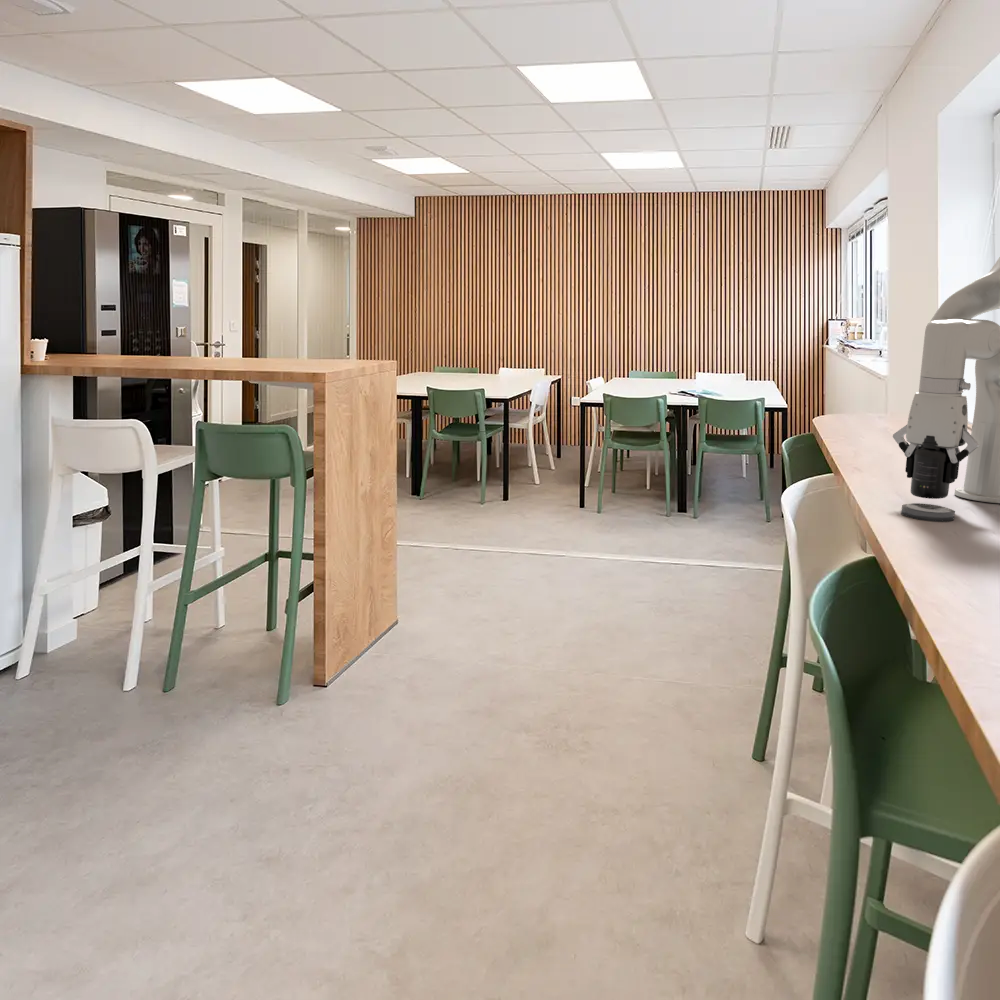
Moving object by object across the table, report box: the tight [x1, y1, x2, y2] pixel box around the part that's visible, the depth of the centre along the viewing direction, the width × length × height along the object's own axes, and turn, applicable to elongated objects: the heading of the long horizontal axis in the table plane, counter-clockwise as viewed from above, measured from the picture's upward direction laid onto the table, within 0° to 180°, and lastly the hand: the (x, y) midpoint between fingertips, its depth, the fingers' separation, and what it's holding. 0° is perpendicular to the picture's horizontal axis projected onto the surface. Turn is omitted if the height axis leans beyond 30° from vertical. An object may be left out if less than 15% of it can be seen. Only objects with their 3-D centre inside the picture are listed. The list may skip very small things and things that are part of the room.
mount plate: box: [900, 502, 956, 523], centre depth 186 cm, size 9×9×2 cm
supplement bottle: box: [910, 435, 950, 500], centre depth 195 cm, size 7×7×12 cm
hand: (930, 478), depth 196 cm, fingers closed on supplement bottle, 6 cm apart
